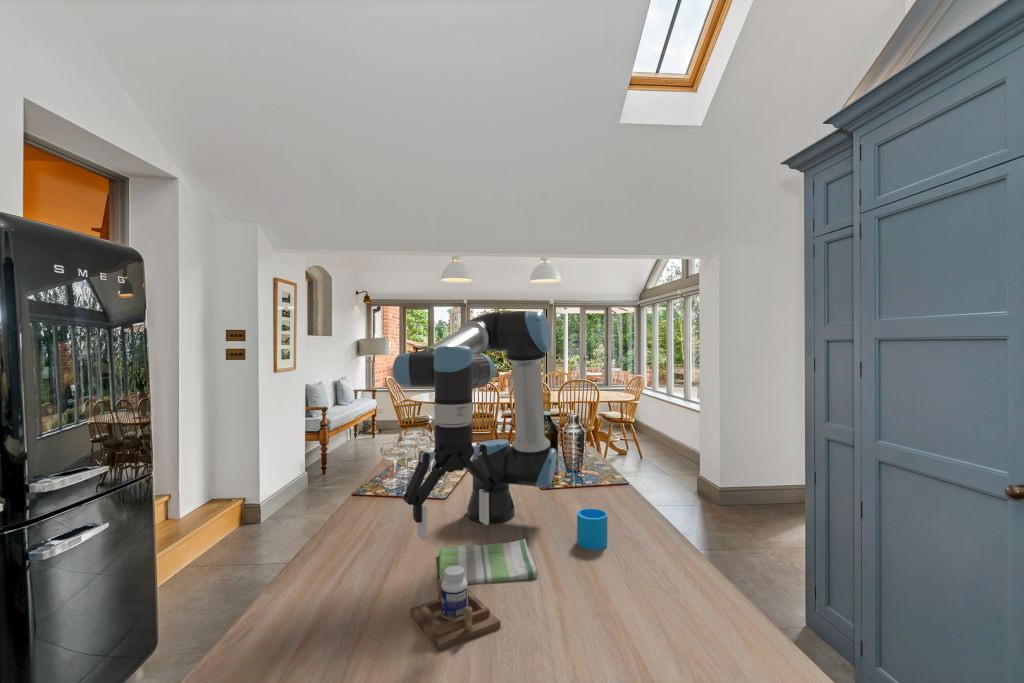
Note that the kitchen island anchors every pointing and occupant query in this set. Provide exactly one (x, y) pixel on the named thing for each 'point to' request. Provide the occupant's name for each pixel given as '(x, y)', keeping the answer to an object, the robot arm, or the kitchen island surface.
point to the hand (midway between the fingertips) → (454, 530)
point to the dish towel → (490, 562)
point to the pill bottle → (454, 593)
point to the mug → (592, 529)
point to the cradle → (454, 621)
